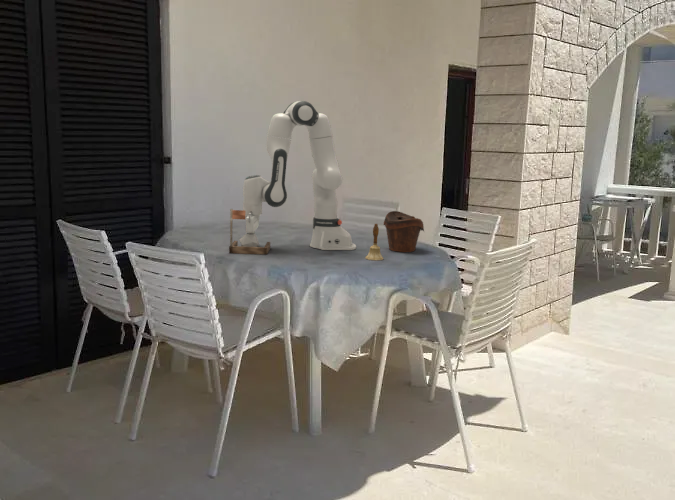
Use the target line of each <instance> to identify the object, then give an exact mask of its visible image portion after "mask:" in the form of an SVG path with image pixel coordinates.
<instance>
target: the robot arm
mask: <svg viewBox="0 0 675 500" xmlns="http://www.w3.org/2000/svg"><path fill="white" fill-rule="evenodd" d="M296 126H298V127H299V126H305V127H306V129H307V131H308V135H309V136H308V139H309V145H310V150H311V157H312V159H313V163H314V166H315V168H314V169H313V171H312V174H311V177H312V179H311V180H312V188H313V191H312V192H313V198H314V200H313V201H314V207H313V213H314V215H313V219H312V234H311V235H312V236H311V241H310V244H309V246H310V248H314V249H318V250H322V251H353V250H356V249H357V245H356V244H355V243H353V240H352V235H351V233H350V232H348V231H347V230H346V229H345V228H344V227H343V226H341V225H342V224H343V221H342V220H341V219H340V218H338V199H337V193H336V189H337V190H338V189H339V188H340V187H341V185H342V183H343V175H342V173H341V169H340V165H339V162H338V159H337V155H336V151H335V143H334V138H333V137H334V136H333V130H332V125H331V122H330V120H329V116H327V115H326V114H324V113H320V112H318V111H317V110H316V108H315V106H314V105H313V104H312V103H311V102H308V101H306V100H297V101H295V102H291V103H290V104H289V105H288V106H287V108H285V110H284V111H283V113H282V112H278V113H275V114H273V116H271V119H270V122H269V126H268V130H267V137H266V151H267V153H268V155H269V157H270V160H271V164H272V165H271V176H270V181H269V180H267V179H265V178H264V177H262V176H261V175H258V174H256V175H255V174H254V175H249V176H247V177H245V179H244V181H243V187H242V189H243V190H242V195H243V196H242V197H243V201H242V210H244V211H246V213H245V234H247V233H251V234H256V233H255V232H256V230H257V229H258V227H259V225H260V216H261V215H262V214H263V203H267V204H268V205H269V206H270V207H273V208H278V207H281V206H283V205H284V204H285V203H286V201H287V197H288V194H287V189H286V185H285V182H286V173H287V161H288V157H289V151H290V147H291V141H292V140H291V139H292V134H293V130H294V128H295V127H296Z"/></svg>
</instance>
